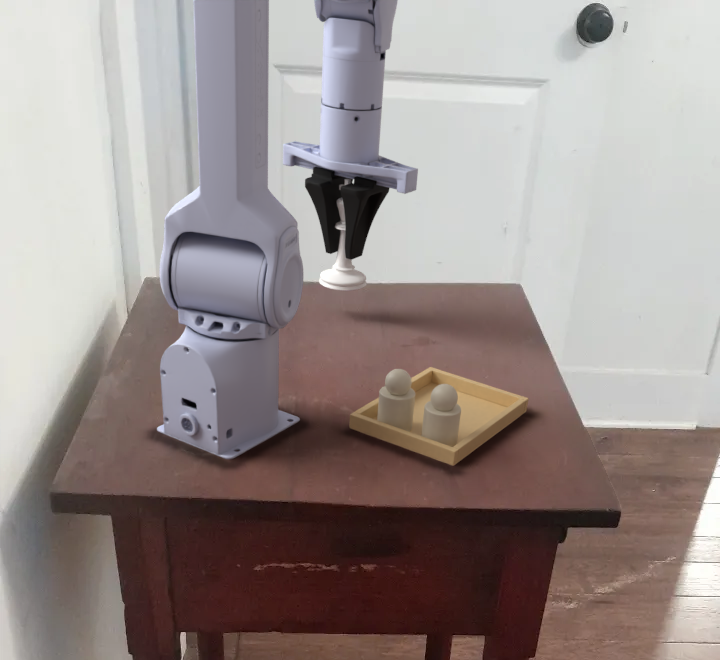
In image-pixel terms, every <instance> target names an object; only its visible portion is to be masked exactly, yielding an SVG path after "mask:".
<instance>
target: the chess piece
mask: <svg viewBox="0 0 720 660" xmlns="http://www.w3.org/2000/svg"><path fill="white" fill-rule="evenodd" d="M350 183H351V179H345V185H347V184H350ZM341 186H344V185H343V184H341V185H339V190H341ZM337 207H338V210H339V215H340V218H341V221H340V222H337V223H336V225H335V228H336V229H339V230H341V232H340V240H339V247H338V251H337V252H336V253H337V254H336V259H335V263H334V264H332V265H331V266H332V267H331V268H327V269H324V270H322V271H321V272H320V274H319V279H318V283H319V284H320V285H321V286H323V287H325V288H327V289H330V290H333V291H341V292H342V291H343V292H350V291H358V290H361V289H363V288H365V287H366V286H367V276H366V275H365V274H364V272H362V271H360V270H357V269H356V266H355V265H354V264H353V261H352V260H353V259H347V258H346V256H345V230H346V224H345V212H344V205H343V199H342V198H339V199H338V200H337Z"/></svg>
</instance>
